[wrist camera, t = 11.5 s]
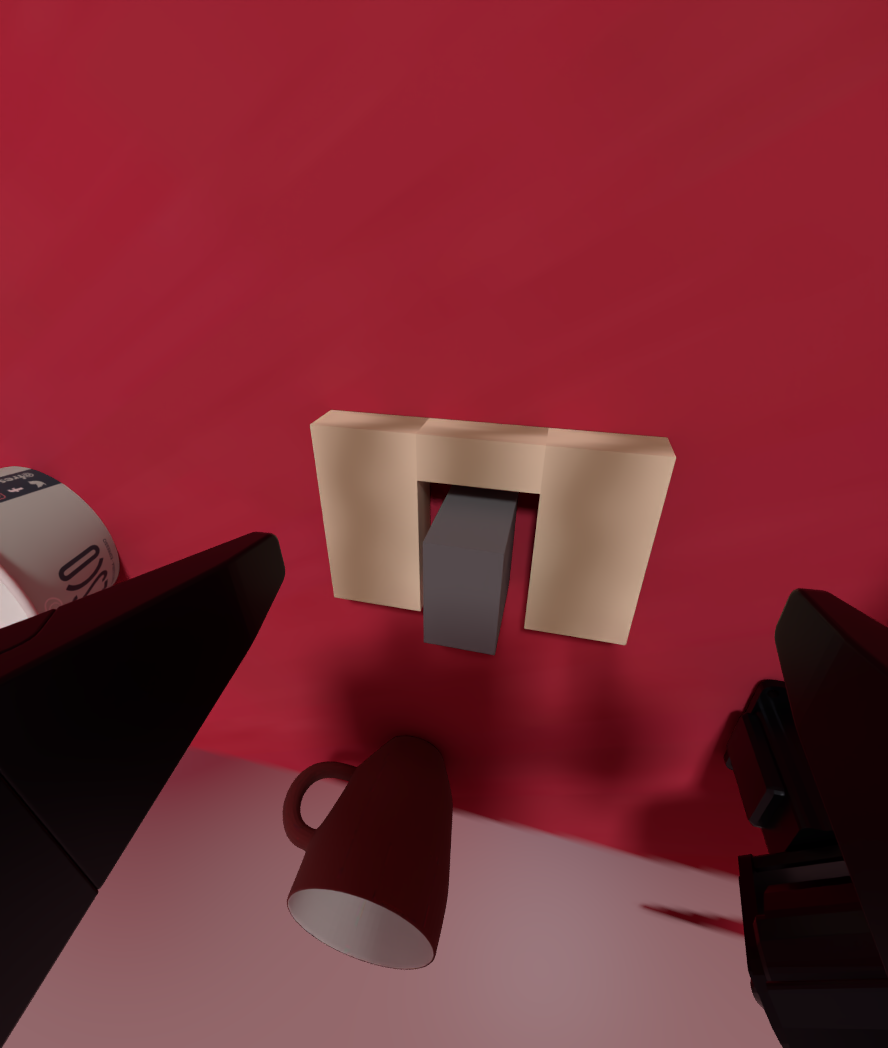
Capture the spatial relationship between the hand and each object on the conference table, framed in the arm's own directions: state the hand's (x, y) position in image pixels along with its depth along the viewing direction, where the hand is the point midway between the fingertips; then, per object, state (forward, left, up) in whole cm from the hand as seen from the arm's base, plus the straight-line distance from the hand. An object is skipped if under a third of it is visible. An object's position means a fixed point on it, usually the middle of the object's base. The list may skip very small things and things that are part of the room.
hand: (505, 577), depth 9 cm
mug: (+7, +25, -12) cm, 29 cm away
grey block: (+2, +7, -12) cm, 14 cm away
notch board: (+2, +6, -12) cm, 14 cm away
